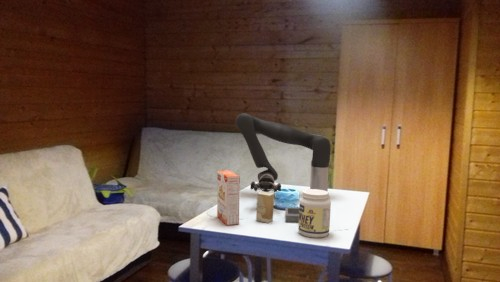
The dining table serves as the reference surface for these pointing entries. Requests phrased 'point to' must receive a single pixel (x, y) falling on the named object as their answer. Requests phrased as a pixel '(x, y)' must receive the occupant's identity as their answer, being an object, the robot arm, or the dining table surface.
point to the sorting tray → (292, 215)
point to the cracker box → (228, 197)
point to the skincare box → (265, 207)
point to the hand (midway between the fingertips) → (265, 189)
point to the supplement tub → (314, 213)
